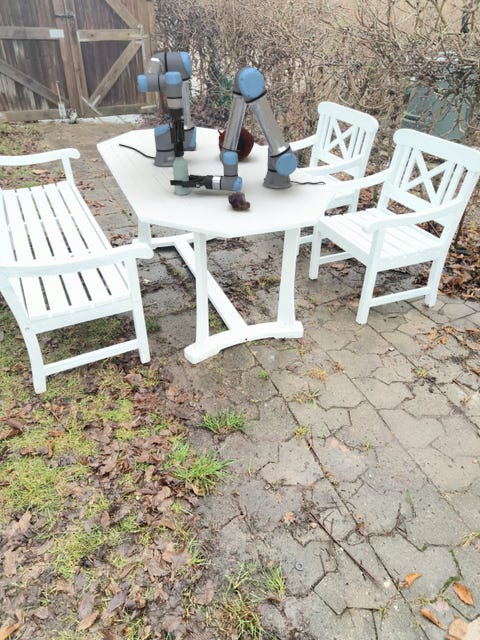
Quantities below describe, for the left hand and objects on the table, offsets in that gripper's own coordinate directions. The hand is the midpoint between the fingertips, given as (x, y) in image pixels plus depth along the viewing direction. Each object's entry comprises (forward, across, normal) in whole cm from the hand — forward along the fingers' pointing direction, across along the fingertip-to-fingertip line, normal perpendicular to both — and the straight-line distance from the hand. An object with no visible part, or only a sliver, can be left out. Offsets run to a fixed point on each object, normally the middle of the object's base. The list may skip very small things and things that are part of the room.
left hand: (179, 155), depth 236 cm
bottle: (+20, 0, 0) cm, 20 cm away
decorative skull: (+20, -73, +6) cm, 76 cm away
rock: (+20, +14, +37) cm, 45 cm away
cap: (-2, 0, 0) cm, 2 cm away
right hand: (+13, 0, -5) cm, 14 cm away
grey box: (+20, -89, -39) cm, 99 cm away
